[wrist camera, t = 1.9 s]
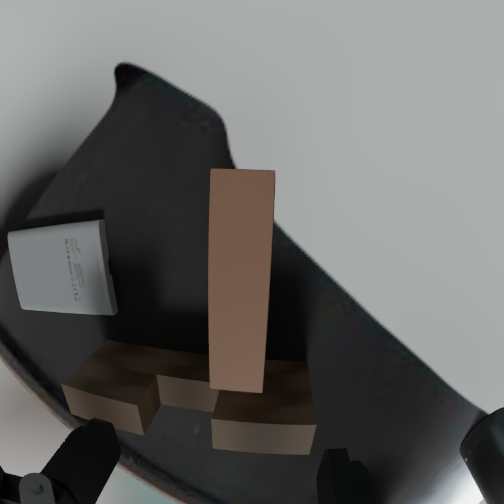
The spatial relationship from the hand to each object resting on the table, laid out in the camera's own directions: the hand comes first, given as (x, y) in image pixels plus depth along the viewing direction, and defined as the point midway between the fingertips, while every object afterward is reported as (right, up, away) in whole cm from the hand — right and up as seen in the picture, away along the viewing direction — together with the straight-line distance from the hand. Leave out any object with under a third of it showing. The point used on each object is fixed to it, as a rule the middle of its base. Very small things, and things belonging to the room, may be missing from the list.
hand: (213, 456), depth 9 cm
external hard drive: (-17, +6, +16) cm, 24 cm away
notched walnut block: (-3, -3, +16) cm, 16 cm away
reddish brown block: (+1, +7, +14) cm, 15 cm away
